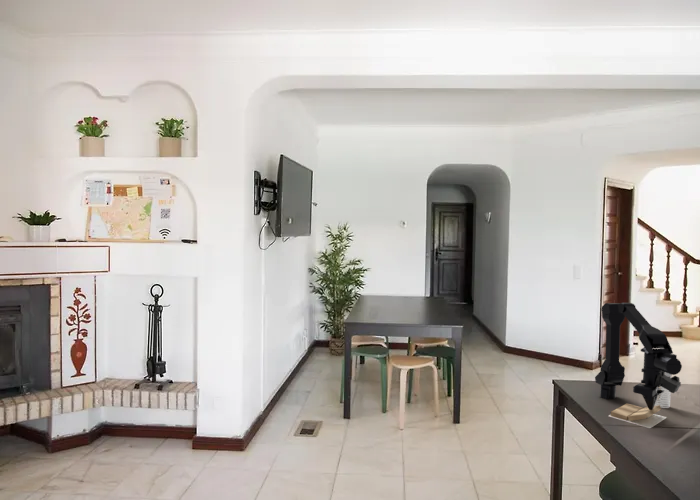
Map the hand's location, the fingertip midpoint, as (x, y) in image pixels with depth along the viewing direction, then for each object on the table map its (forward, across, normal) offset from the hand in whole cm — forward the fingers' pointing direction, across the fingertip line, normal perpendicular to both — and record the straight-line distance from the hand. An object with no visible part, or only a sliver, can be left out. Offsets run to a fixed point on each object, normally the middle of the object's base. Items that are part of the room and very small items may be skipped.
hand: (650, 409), depth 182 cm
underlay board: (+5, 0, +4) cm, 6 cm away
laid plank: (+4, 0, +8) cm, 9 cm away
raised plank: (+2, 0, +2) cm, 3 cm away
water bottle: (+5, +22, +4) cm, 22 cm away
